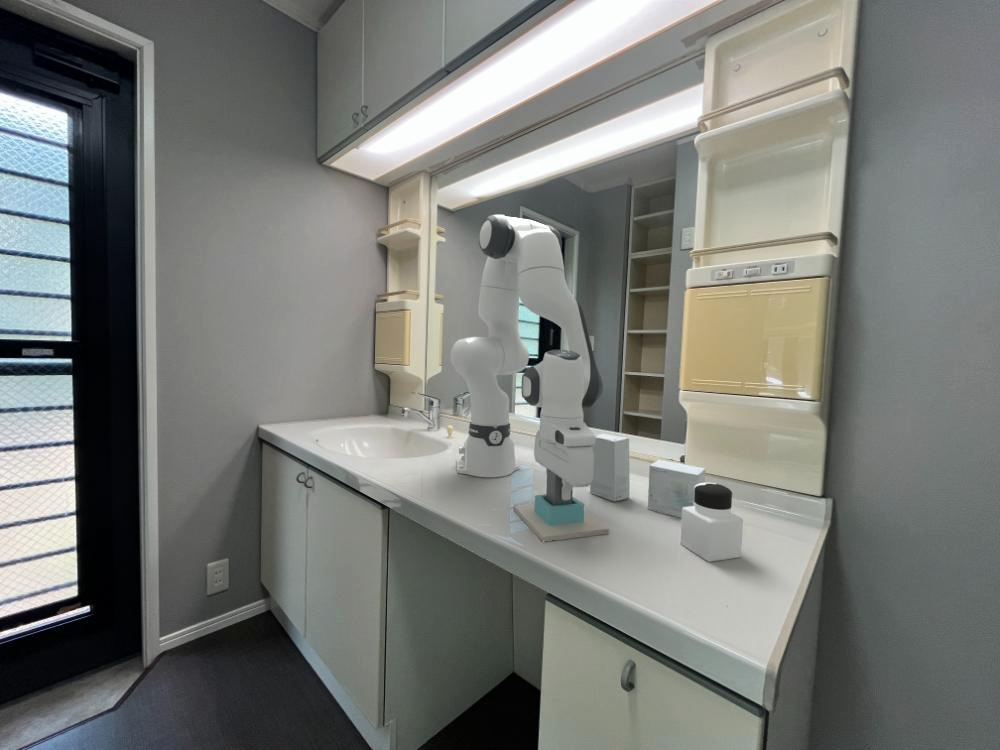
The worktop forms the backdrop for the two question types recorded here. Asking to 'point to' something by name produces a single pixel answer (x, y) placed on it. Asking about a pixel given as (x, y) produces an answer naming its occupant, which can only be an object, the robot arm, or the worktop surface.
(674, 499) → the skincare box
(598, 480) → the skincare box
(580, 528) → the plate
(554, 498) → the block
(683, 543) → the medicine bottle
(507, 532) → the worktop surface
